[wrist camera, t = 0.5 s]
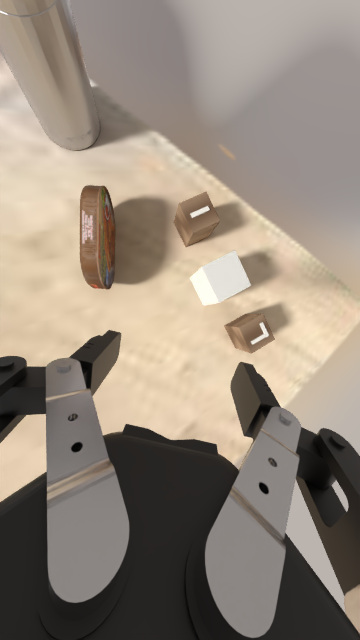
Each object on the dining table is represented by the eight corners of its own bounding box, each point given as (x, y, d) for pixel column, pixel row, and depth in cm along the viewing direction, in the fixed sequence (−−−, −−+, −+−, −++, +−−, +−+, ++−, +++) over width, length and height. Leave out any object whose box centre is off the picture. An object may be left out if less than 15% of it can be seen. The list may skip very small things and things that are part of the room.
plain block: (189, 277, 35) (201, 266, 27) (216, 264, 36) (235, 250, 28) (203, 305, 36) (219, 302, 28) (229, 292, 37) (251, 285, 29)
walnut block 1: (173, 222, 35) (179, 202, 28) (197, 212, 35) (207, 190, 29) (185, 247, 35) (193, 232, 29) (208, 236, 36) (221, 219, 30)
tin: (114, 292, 33) (102, 284, 25) (95, 291, 32) (77, 283, 24) (115, 208, 33) (104, 171, 24) (96, 205, 32) (79, 167, 24)
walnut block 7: (224, 325, 37) (239, 327, 31) (245, 313, 37) (264, 313, 31) (234, 347, 37) (252, 353, 31) (255, 335, 38) (276, 338, 32)
